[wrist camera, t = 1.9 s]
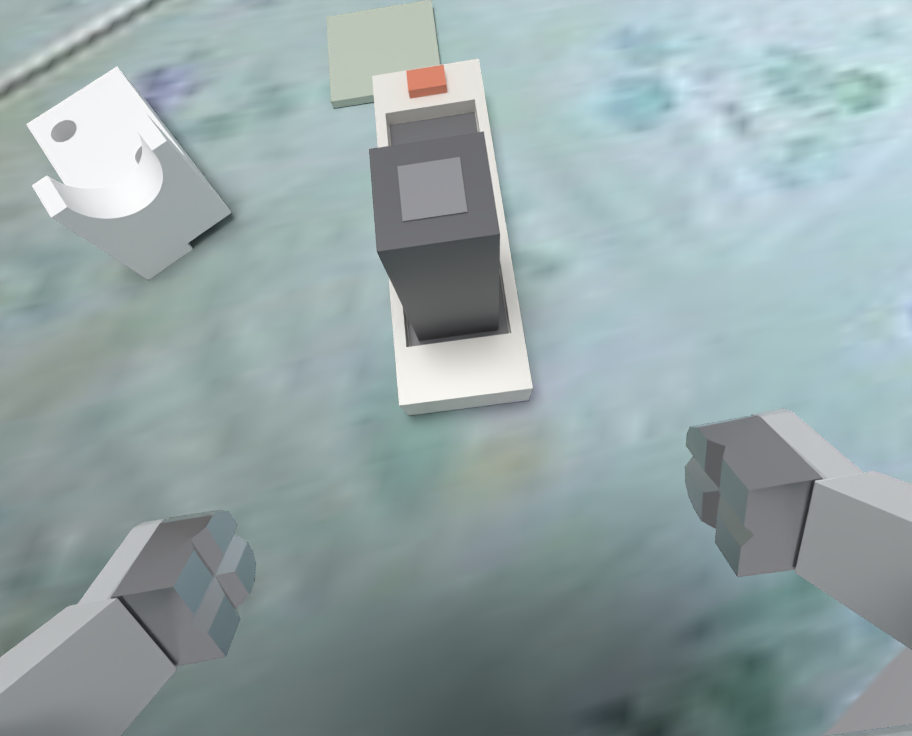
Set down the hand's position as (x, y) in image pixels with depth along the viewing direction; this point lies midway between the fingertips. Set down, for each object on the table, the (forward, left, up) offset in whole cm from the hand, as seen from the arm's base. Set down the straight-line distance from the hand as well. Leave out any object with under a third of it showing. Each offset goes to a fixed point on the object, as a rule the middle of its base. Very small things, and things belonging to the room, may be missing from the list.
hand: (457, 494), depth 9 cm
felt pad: (-3, +32, -19) cm, 37 cm away
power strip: (0, +16, -19) cm, 25 cm away
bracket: (-21, +24, -19) cm, 37 cm away
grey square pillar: (0, +11, -17) cm, 20 cm away
